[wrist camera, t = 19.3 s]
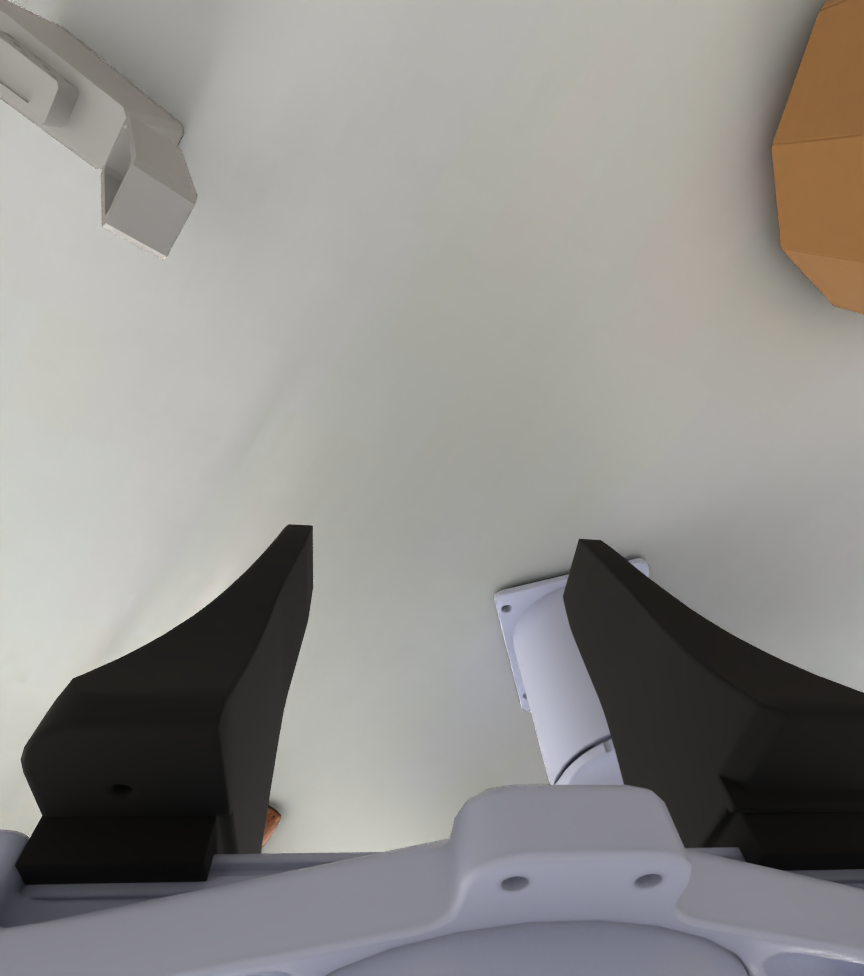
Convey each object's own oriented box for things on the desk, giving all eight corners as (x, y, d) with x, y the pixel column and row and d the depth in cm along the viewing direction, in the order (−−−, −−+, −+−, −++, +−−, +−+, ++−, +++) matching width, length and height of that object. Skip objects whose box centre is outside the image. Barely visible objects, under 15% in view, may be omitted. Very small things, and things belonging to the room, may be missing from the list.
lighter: (34, 78, 16) (-227, -1, 10) (55, 22, 16) (-206, -106, 9) (241, 236, 19) (153, 265, 12) (266, 193, 18) (189, 198, 11)
